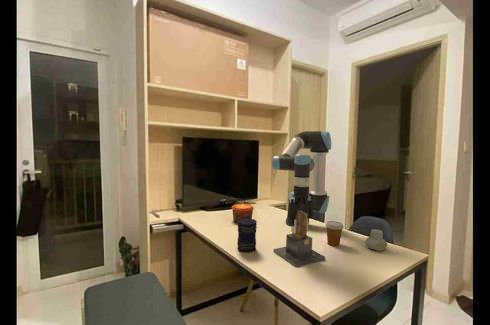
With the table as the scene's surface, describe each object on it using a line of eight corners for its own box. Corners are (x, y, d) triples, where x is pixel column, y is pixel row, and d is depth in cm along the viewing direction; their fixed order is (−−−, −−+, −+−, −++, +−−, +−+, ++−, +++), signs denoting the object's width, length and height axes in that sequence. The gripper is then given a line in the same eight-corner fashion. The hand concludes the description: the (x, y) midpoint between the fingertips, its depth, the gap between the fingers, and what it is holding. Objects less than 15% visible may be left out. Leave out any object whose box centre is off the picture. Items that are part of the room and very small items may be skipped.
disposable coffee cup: (342, 242, 149) (343, 222, 148) (342, 248, 140) (343, 227, 139) (324, 240, 152) (325, 220, 151) (324, 246, 143) (325, 224, 142)
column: (299, 249, 133) (301, 210, 131) (306, 252, 128) (307, 213, 127) (291, 250, 130) (292, 211, 129) (297, 254, 126) (299, 214, 124)
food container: (226, 221, 183) (227, 206, 182) (239, 216, 196) (239, 202, 196) (245, 225, 174) (245, 210, 174) (257, 220, 188) (258, 205, 187)
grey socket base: (301, 246, 142) (301, 228, 141) (325, 259, 126) (326, 239, 125) (273, 251, 133) (274, 232, 133) (295, 267, 117) (296, 245, 117)
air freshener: (379, 245, 146) (380, 228, 145) (390, 251, 138) (391, 233, 137) (361, 246, 144) (363, 228, 144) (371, 252, 136) (372, 233, 135)
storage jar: (254, 253, 131) (255, 224, 130) (235, 251, 132) (236, 223, 131) (257, 246, 140) (257, 219, 139) (239, 244, 142) (239, 217, 141)
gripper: (289, 188, 119) (287, 236, 121) (322, 185, 128) (319, 231, 130) (280, 185, 126) (278, 231, 127) (311, 183, 135) (309, 226, 136)
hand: (299, 231), depth 129 cm, fingers open, 7 cm apart
